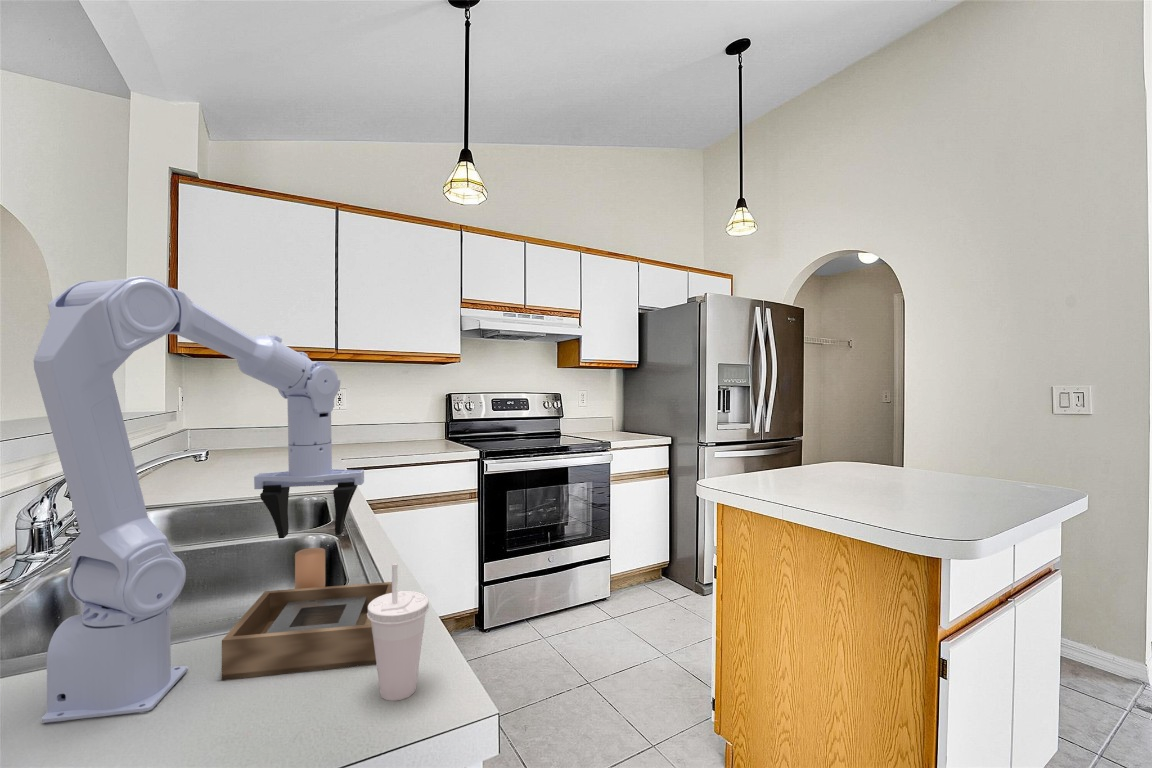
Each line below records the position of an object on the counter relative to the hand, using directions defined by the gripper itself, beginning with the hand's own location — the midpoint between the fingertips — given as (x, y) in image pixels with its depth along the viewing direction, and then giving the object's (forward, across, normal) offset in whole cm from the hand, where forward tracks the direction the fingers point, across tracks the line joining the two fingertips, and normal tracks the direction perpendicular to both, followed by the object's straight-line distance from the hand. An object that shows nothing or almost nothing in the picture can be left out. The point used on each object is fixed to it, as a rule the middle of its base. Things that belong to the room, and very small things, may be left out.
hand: (311, 534), depth 79 cm
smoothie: (+11, -15, +25) cm, 31 cm away
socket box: (+10, -4, +12) cm, 16 cm away
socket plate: (+10, -4, +12) cm, 16 cm away
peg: (+11, 0, 0) cm, 11 cm away
